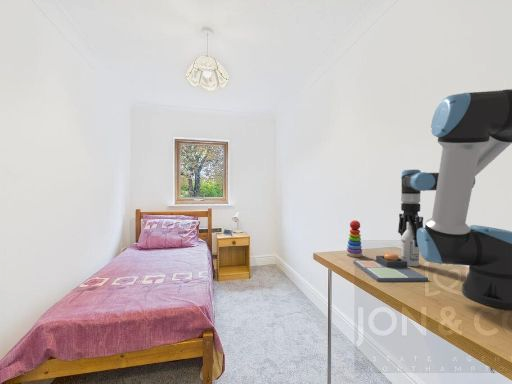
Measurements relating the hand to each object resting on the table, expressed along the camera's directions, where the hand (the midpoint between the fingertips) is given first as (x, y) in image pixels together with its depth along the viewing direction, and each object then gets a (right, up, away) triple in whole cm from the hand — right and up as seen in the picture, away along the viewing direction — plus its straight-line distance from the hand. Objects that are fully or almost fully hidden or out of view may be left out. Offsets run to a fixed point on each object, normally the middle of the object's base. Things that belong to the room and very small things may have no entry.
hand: (410, 251), depth 113 cm
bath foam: (0, -6, 0) cm, 6 cm away
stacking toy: (-20, -6, +15) cm, 26 cm away
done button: (-11, -3, -4) cm, 12 cm away
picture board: (-16, -6, -9) cm, 19 cm away
